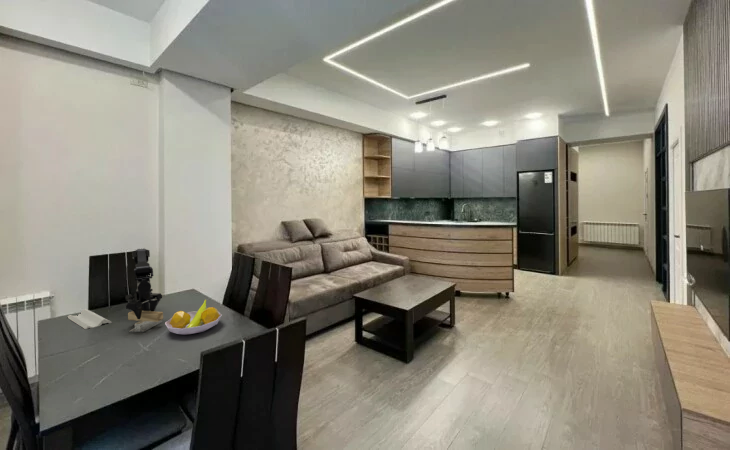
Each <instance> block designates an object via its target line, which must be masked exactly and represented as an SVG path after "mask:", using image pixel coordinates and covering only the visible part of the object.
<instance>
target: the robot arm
mask: <svg viewBox="0 0 730 450" xmlns="http://www.w3.org/2000/svg"><path fill="white" fill-rule="evenodd" d="M131 253H132V259H133V260H134V261H133V262H134V263H135V268H134V269H133V271H134V272H133V273H134V274H133V275H134V281H136V282H137V283H136V284H137V288H136V290H135V293H134V294H131V293H128V294H127V295H125V301H126V302H127V303H126V304H125V309H127V310H130V311H131V312H132V311H133V312H134V313H135V315H136V317H137V319H140V318H141V313H142V311H154V312H156V311H155V310H156V308H157V306H158V304H159V303H160V301H161V299H163V294H162V293H160V292H159V293H158V292H153V288H152V283H151V279H153V277H154V268H153V267H152V266H150V262H149V261H150V260H149V258H150V257H151V254H150V250H149V249H146V248H137V249H135V250H134V251H131Z"/></svg>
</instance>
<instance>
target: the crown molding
mask: <svg viewBox="0 0 730 450" xmlns="http://www.w3.org/2000/svg"><path fill="white" fill-rule="evenodd" d="M80 313H81V314H80ZM80 313H79V314H77V315H78V316H77V315H71V314H69V315H67V317H68V318H67V319H68V320H69V321H72V322H74V323H75V324H77V325H78V326H79V327H81V328H83V329H84V330H88V329H93V328H97V327H100V326H101V325H103V324H107V323H108V324H111V323H113V322H112V321H111V320H109V319H107V318H105V317H103V316H101V315H99V314H98V313H95V312H94V311H92V310H90V309H87V308H83V309H82V311H80Z"/></svg>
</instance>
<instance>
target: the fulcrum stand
mask: <svg viewBox="0 0 730 450" xmlns="http://www.w3.org/2000/svg"><path fill="white" fill-rule="evenodd" d="M163 322H164V321H163V320H160V321H158V322H152V321H137V322H136V323H134V327H133V328H131V329H130V330H128V332H130V333H144V332H146V331H148V330H150V329H152V328H154V327H156V326H158V325H160V324H161V323H163Z"/></svg>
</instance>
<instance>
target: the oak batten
mask: <svg viewBox="0 0 730 450" xmlns="http://www.w3.org/2000/svg"><path fill="white" fill-rule="evenodd" d="M127 317H128V318H127V319H128V321H137V322H139V321H152V322H158V321H163V320H164V312H163V311H151V310H149V311H142V313H141V318H140V319H137V317H136V315H135V313H134V312H133V311H132V310H131V311H129V312H128V313H127Z"/></svg>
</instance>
